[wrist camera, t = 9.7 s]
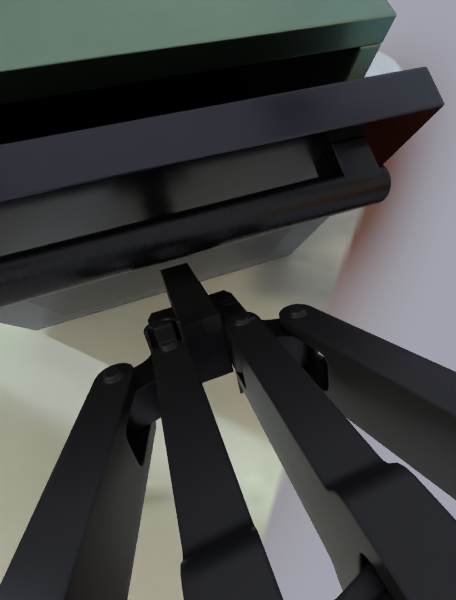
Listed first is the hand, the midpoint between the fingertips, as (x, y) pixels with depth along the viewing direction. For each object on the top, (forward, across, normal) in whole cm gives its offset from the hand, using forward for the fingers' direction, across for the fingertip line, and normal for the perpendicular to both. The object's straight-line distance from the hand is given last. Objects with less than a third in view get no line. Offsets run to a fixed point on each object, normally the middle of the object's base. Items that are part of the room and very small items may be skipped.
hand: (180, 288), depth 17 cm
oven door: (+6, 0, -3) cm, 7 cm away
